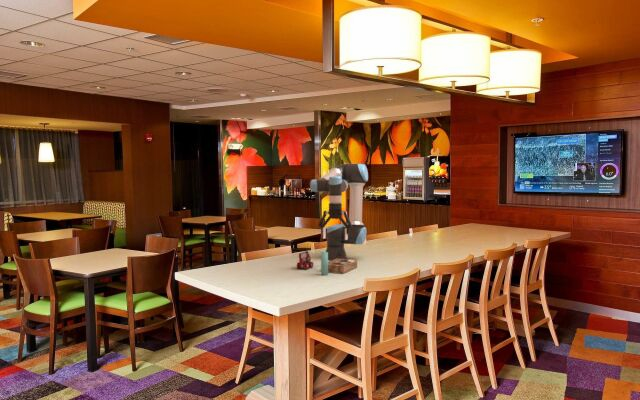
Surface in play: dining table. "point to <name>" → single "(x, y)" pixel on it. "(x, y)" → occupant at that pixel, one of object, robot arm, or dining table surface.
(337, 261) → the socket board
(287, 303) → the dining table surface
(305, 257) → the dark red rounded figure
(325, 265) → the plug
